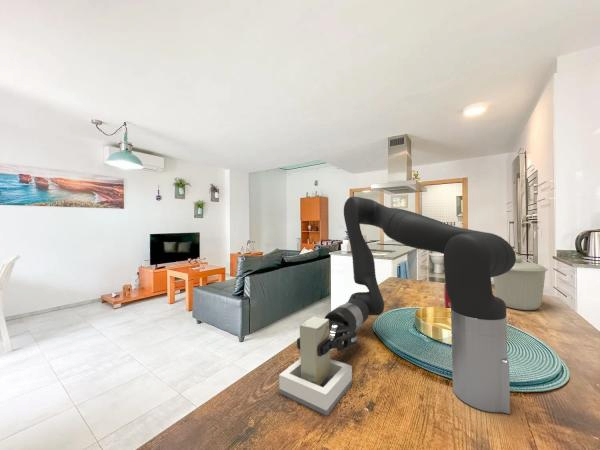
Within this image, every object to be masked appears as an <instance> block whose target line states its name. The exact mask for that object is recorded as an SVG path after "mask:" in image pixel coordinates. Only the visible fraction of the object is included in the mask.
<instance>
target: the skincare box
mask: <svg viewBox="0 0 600 450" xmlns="http://www.w3.org/2000/svg"><path fill="white" fill-rule="evenodd" d="M299 337H300V349H299V350H300V351H299V353H300V358H301V379H304V380H306V381H309V382H311V383H314V384H316V385H318V386H320V385H321V383H322V382H323V381H324V380H325V379H326V378H327V376H328V375H329V374H330V373H331V365H330V359H331V350H330V351H329V352H328V353H326V354H325V355H322V356H318V355H317V346H318V345H319V344H320V343H321V342H322V341H324V340H325V339H328V337H329V319H325V317H318V316H314V315H313V316H311V317H309V318H308V319H306V320H305V321H304V322H302V323H300V324H299Z"/></svg>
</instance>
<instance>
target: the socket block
mask: <svg viewBox="0 0 600 450" xmlns="http://www.w3.org/2000/svg"><path fill="white" fill-rule="evenodd" d="M330 365H331V373H330V374H329V375H328V376H327V378H326V379H325V380H324V381H323V382H322V383H321V385H320V386H318V385H316V384H314V383H311V382H309V381H306V380H304V379H301V357H300V358H299V359H297V360H296V361H295V362H294V363H292V364H291V365H289V366H288V367H287V368H285V369H284V370H283V371H282V372H281V373H279V375H278V380H279V384H278V385H279V387H278V388H279V394H280V395H281V396H285V397H286V398H288V399H289V400H290V399H291V400H293V401H295V402H297V403H299V404H301V405H303V406H305V407H306V408H309V409H311V410H313V411H315V412H318V413H319V414H322V415H323V416H326V417H327V416H328V415H330V414H329V413H330V412H331V411H332V410H333V409H334V407H335V406H336V404H337V403H338V402H339V401H340V400H341V398H342V397H343V396H344V395H345V393H346V392H347V391H348V389H350V387H351V386H352V384H353V371H352V369H353V368H352V365H350V364H348V363H345V362H343V361H342V362H341V361H338V360H335V359H334V358H333V359H332V358H330Z"/></svg>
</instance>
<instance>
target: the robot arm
mask: <svg viewBox="0 0 600 450" xmlns="http://www.w3.org/2000/svg"><path fill="white" fill-rule="evenodd" d="M343 218H344V222H345V228H346V232H347V236H348V240H349V246H350V251H351V256H352V270H353V272H352V273H353V281H354V283H355V284H357V285H361V286H365V287H366V288H367V290H368V291H366V292H365V291H364V292H363V291H362V292H360V291H357V292H354V293H352V294H351V295H350V296H349V299H348V300H347V302H345V303H343V304H341V305H338V306H337V307H336V308H334V309H332V310H331V311H329V312H328V313H327V314H326V315H325V316H324V318H325V319H329V337H328V339H325V340H324V341H322V342H321V343H320V344H319V345H318V346H317V355H318V356H322V355H325V354H326V353H328V352H329V351H330V352H331V351H334V350H335V349H336V351H337V352H343V351H345V350H348V349H349V348H351V347H353V346H355V345H357V343H358V333H357V330H359V328H360V327H361V326H362V325H363V324H364V323H365V322H366V321H367V319H368V318H369V316H380V315H382V314H383V312H384V310H385V301H384V298H383V295H382V292H381V290H380V288H379V284H378V281H377V280H378V279H377V277H376V265H375V260H374V259H375V258H374V255H373V252H372V251H371V248H370V247H369V245H368V243H367V241H366V239H365V238H364V235H363V233H362V230H361V225H366V226H367V225H369V226H373V227H377V228H379V229H382V232H383V233H384V234H385V236H387V237H388V238H390V239H391V240H392V241H395V242H398V243H400V244H401V245H404V246H406V247H410V248H414V249H418V250H423V251H428V252H433V253H434V252H435V253H439V254H442V255H443V269H444V270H443V271H444V282H445V283H444V284H446V292H447V295H448V297H449V299H450V302H451V312H450V321H451V322H450V327H451V328H450V329H451V334H452V337H451V359H452V360H451V362H452V363H451V364H452V366H451V367H452V370H451V371H452V377H451V378H452V391H453V392H454V395H456V397H457V398H458V399H459V400H460V401H462V402H464V403H465V404H467V405H468V406H470V407H472V408H475V409H477V410H480V411H484V412H489V413H505V414H508V415H511V393H510V392H511V390H510V388H511V387H510V363H509V362H510V361H509V357H508V330H507V329H508V328H507V327H508V325H507V323H508V322H507V307H506V304H505V302H504V301H503V300H502V299H500V298H498V297H496V295H494V293H493V287H492V278H493V277H495V276H499V275H502V274H504V273H506V272H508V271H509V270H510V269H512V267H513V266H514V264H515V261H516V256H515V255H516V252H515V250H514V248H513V246H512V245H511V244H510V243H509V242H508V241H507V240H506V239H505V238H503V237H501V236H500V235H498V234H494V233H491V232H485V231H480V230H473V229H468V228H463V227H459V226H455V225H451V224H449V223H445V222H443V221H440V220H437V219H435V218H432V217H428V216H425V215H423V214H419V213H417V212H414V211H410V210H406V209H403V208H398V207H388V206H386V205H383V204H382V203H380V202H377V201H375V200H374V199H369V198H365V197H360V196H350V197H348V198H347V199H346V201H345V202H344V205H343ZM296 346H297V347H296V348H297V350H300V336H298V338H297V339H296Z"/></svg>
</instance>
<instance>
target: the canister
mask: <svg viewBox="0 0 600 450" xmlns="http://www.w3.org/2000/svg"><path fill="white" fill-rule="evenodd" d="M515 256H516V261H515V264H514V266H513V267H512V269H510V270H509V271H508V272H506V273H504V274H502V275H499V276H495V277H492V278H493V285H494V291H495V297H498V298H500V299H502V300H503V301H504V302H505V304H506V308H510V309H514V310H520V311H534V310H537V309H539V308H540V307H541V305H542V301H543V295H544V286H545V280H546V279H545V277H546V272H547V271H548V270H549V269H548V267H544V266H543V265H542V264H538V263H536V262H530V261H529V262H527V261H523V257H522V256H520V255H517V254H515Z"/></svg>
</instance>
